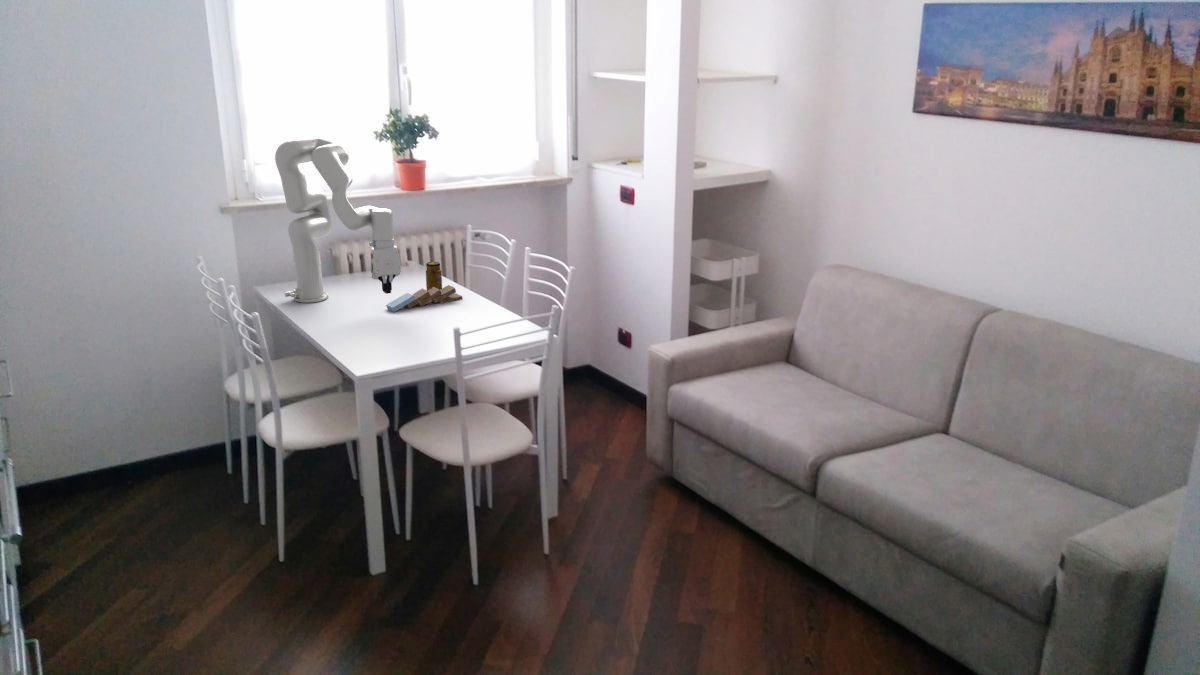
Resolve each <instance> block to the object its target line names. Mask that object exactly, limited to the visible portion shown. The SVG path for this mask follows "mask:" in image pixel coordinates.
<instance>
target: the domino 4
mask: <svg viewBox="0 0 1200 675" xmlns="http://www.w3.org/2000/svg"><path fill="white" fill-rule="evenodd" d="M440 291H441V293H442V294H441V295H439V296H437V297H436V298H434V299H433V300H431V301H430V302H432V303H434V304H436V303H439V301H440V300H442V299H444V298H446V297H448V296H450V295H452V294H455V293H457V290H456V288H455V287H454V286H453V285H449V284H447V285H446V286H444V287H442V289H440Z"/></svg>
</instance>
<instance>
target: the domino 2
mask: <svg viewBox="0 0 1200 675" xmlns="http://www.w3.org/2000/svg"><path fill="white" fill-rule="evenodd" d="M412 295H414V297H415V300H414V301H412V302H411V303H409V304H407V305H405V306H404V307H406V309H412V308H414V306H417V304H418V303H419V302H421V301H422V300H424V299H425V298H427V297H428V296H430V293H429V291H427V289H424V288H421V289H419V290H417V291H416V292H414V293H412Z"/></svg>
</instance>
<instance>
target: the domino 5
mask: <svg viewBox="0 0 1200 675" xmlns="http://www.w3.org/2000/svg"><path fill="white" fill-rule="evenodd" d="M460 299H461V300H463V295H460V294H459V293H457V292H456V293H454V294H452V295H450V296H448V297H446V298H444V299H442V300H440V301H439V302H438V304H444V303H449V302H450V303H451V302H455V301H461V300H460ZM454 300H455V301H454Z"/></svg>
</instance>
